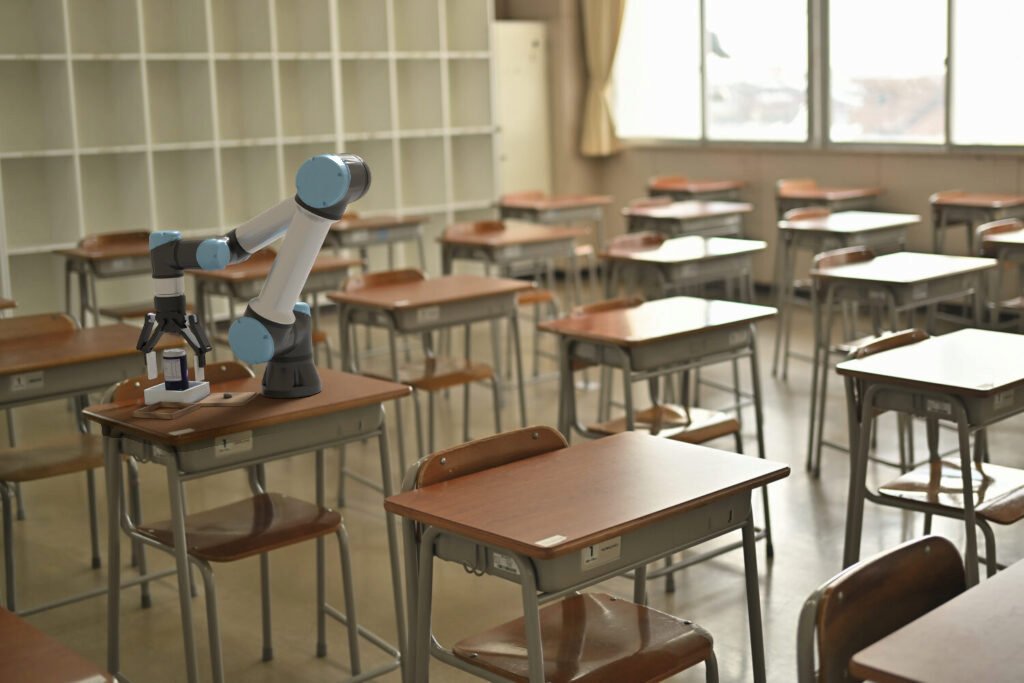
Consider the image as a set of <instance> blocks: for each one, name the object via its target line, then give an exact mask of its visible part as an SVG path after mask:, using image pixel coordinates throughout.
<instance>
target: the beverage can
mask: <svg viewBox="0 0 1024 683" xmlns="http://www.w3.org/2000/svg"><path fill="white" fill-rule="evenodd" d="M162 364H163V376H164V378H163V379H164V383H165V390H168V391H185V390H187V389H189V381H190V380H189V370H188V356H187V352H186V350H185V349H184V348H180V347H179V348H170V349H169V348H168V349H164V350H163V354H162Z"/></svg>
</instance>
